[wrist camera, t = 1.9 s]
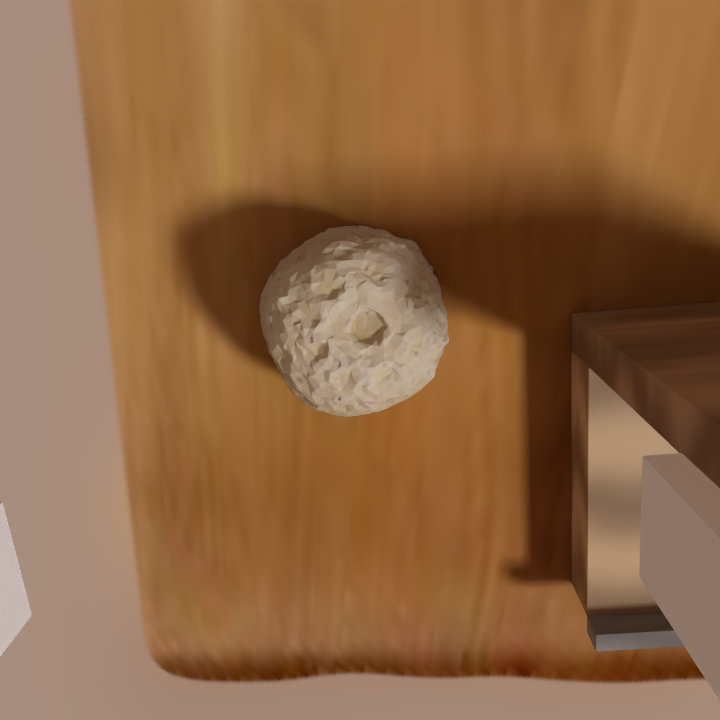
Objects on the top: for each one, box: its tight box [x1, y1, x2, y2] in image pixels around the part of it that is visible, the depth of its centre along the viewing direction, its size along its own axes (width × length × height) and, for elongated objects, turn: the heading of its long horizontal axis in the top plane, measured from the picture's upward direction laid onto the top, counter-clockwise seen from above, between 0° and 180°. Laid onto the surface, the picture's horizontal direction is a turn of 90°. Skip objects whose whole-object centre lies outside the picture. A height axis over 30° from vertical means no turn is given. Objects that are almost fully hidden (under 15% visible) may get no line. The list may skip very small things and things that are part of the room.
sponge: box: [260, 225, 449, 417], centre depth 32 cm, size 9×10×10 cm
